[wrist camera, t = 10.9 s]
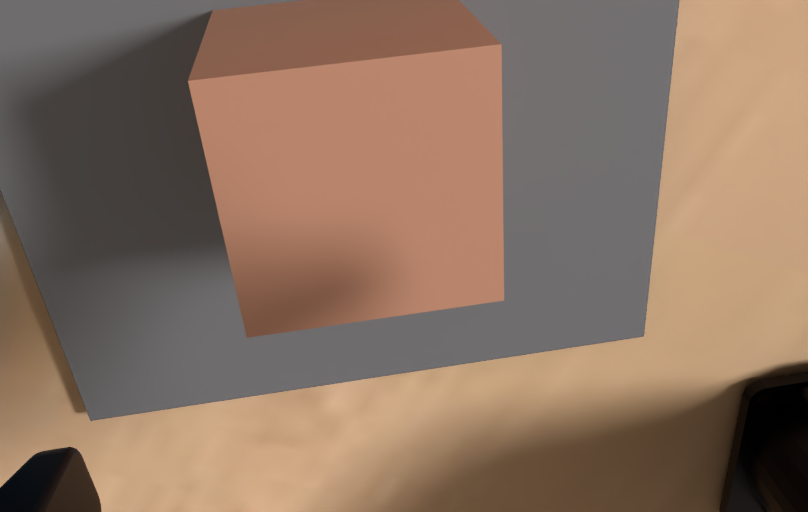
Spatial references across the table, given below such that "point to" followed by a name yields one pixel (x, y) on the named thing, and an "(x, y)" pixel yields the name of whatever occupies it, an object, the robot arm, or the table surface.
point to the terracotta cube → (353, 158)
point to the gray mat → (201, 229)
